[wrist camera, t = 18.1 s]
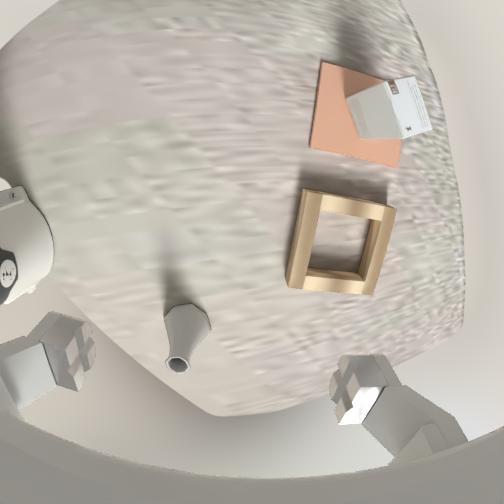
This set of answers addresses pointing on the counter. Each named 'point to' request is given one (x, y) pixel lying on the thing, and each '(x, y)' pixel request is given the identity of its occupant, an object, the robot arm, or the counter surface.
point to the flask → (184, 335)
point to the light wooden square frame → (304, 237)
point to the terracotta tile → (346, 118)
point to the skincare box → (389, 110)
